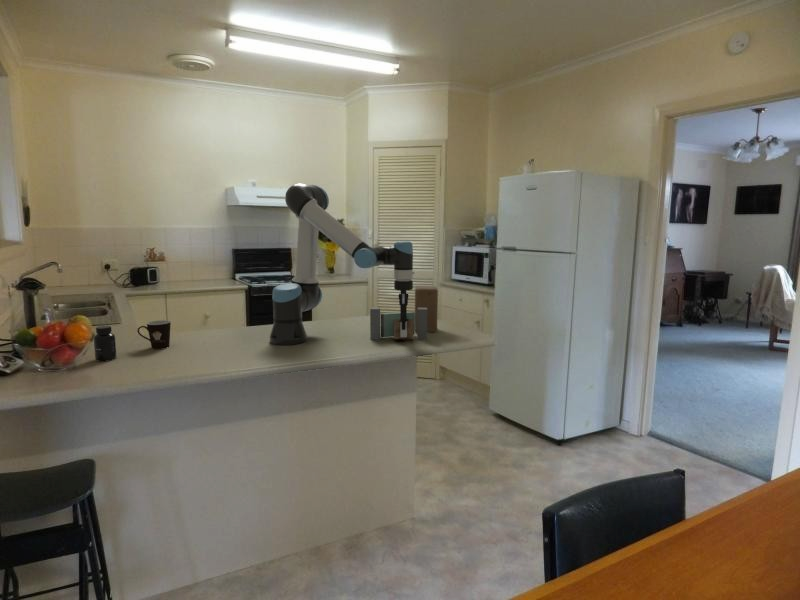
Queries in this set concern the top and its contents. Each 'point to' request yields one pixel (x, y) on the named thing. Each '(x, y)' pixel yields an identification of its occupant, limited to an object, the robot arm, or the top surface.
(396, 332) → the brown rectangular block
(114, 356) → the supplement bottle
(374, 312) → the hinge post
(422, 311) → the post
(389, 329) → the gate
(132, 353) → the top surface
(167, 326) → the coffee mug
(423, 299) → the wooden block
